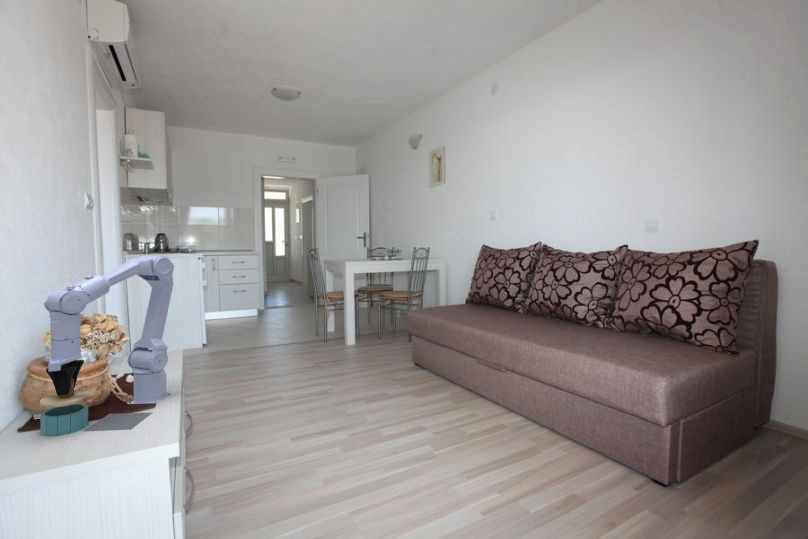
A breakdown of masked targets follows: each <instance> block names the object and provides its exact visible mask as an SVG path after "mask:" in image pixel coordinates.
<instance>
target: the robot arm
mask: <svg viewBox="0 0 808 539" xmlns="http://www.w3.org/2000/svg"><path fill="white" fill-rule="evenodd" d="M174 268H175V265H174V263H173V262H172V261H171V259H170V258H169V257H168V256H165V255H142V254H141V255H138V256H137V255H136V256H135V257H133V258H130V259H129V260H128V261H126V262H125V263H123V264H121V265H119V266H118V267H116V268H114V269H112V270H110V271H109V272H107V273H105V274H104V275H98V274H94V275H93V274H89V275H88V274H87V275H86V276H84V279H82V280H81V281H79V282H77V283H75V284H69V285H67V286H66V289H64V290H62V289H60V290H59V289H58V290H55V291H53V292H51V293H49V295H48V296H47V298H46V301H44V302H43V306H44V308H45V309H46V311H47V312H48V313H49V320H50V326H49V327H50V355H49V356H46V357H44V359H43V360H44V362H45V361H49V362H48V366H47V368H45V370H46V373H47V374H48V375H49V376H50V378H51V380H52V381H53V384H54V387H55V390H56V393H57V395H58V396H60V395H68V394H69V392H70V387H71V381H72V379H74V388H75V385H76V381H77V377H78V374H79V371H80V369H81V368H82V367H83V365H84V363H85V360H84V359H82V356H83V355H82V349H81V348H82V347H81V345H82V344H81V340H82V339H81V313H82V312H83V311H84V310H85V309H86V307H87V305H88V304H90V303H92V302H94V301H95V300H97V299H99V298H102V297H103V296H104V295H107V294H108V293H109V292H110V289H111V287H112V286H114V285H116V284H118V283H120V282H123V281H125V280H127V279H129V278H131V277H133V276H138V277H140V278H141V279H142V280H144V281H146V282H147V283H148V285H149V286H150V288H151V291H150V292H151V293H150V296H149V299H148V306H147V309H146V313H145V314H146V315H145V319H144V324H143V329H142V332H141V333H142V334H141V338H140V339H138V340H137V341H136V342H135V343H134V344H133V347H132V349H131V351H130V353H129V354H128V356H127V360H126V361H127V365H128V366H129V368H131V369H132V370H131V372H133V399H134V401H132V402H131V403H129V402H130V401H129V402H127V405H139V404H140V405H141V404H142V405H143V404H149V405H150V404H157V403H159V401H161V400H162V399H164V398H165V397H166V396H168V395H170V392H169V391H167V372H166V371H165V370H164V368H166V366H167V365H168V361H169V357H168V348H169V347H168V345H167V344H166V343H165V342H164V340H163V337H164V331H165V326H166V322H167V317H168V312H169V308H170V303H171V298H172V292H173V288H174V279H173V273H174Z"/></svg>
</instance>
